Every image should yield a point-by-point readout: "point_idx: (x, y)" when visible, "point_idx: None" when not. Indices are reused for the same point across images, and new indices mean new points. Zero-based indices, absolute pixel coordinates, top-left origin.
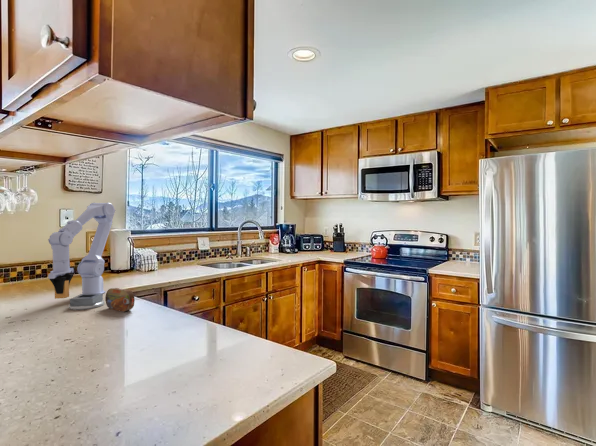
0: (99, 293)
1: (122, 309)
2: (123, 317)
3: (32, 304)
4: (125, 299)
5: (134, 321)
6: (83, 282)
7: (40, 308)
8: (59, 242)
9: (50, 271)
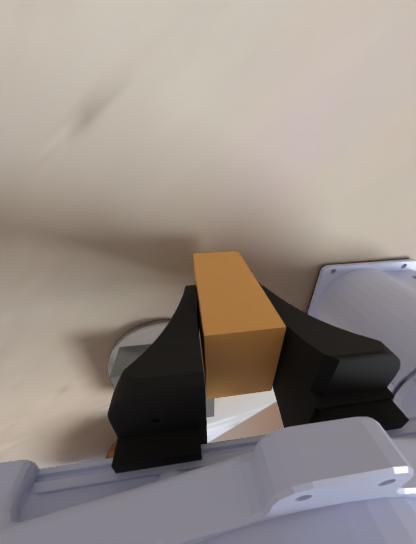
0: (212, 410)
1: (114, 451)
2: (65, 463)
3: (219, 59)
4: None
5: None
6: (386, 337)
7: (117, 205)
8: None
9: (295, 491)
